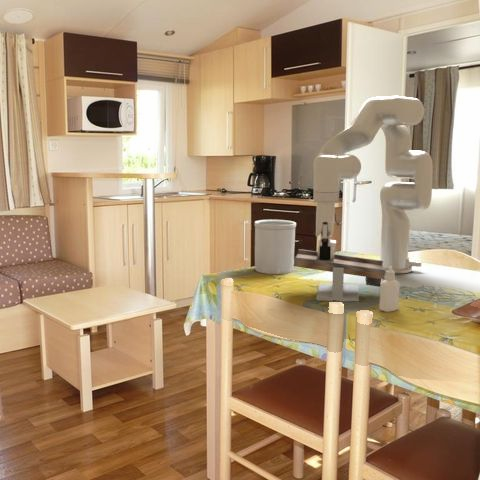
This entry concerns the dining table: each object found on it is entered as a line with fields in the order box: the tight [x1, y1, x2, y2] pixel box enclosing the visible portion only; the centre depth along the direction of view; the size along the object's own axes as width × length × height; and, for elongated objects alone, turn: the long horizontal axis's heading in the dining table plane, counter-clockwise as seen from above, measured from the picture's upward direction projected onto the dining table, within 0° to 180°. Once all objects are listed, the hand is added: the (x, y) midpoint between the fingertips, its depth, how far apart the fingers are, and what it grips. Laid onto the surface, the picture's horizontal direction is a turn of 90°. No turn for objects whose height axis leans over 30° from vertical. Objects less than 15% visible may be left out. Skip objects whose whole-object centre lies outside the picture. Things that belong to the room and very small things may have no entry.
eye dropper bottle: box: [378, 266, 400, 313], centre depth 158 cm, size 4×6×12 cm
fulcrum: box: [315, 267, 360, 302], centre depth 175 cm, size 12×17×10 cm
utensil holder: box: [254, 219, 297, 275], centre depth 208 cm, size 15×15×18 cm
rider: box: [316, 238, 337, 262], centre depth 175 cm, size 5×5×6 cm
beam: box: [293, 248, 386, 288], centre depth 175 cm, size 26×14×6 cm, turn 80°
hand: (325, 257), depth 175 cm, fingers closed on rider, 5 cm apart
